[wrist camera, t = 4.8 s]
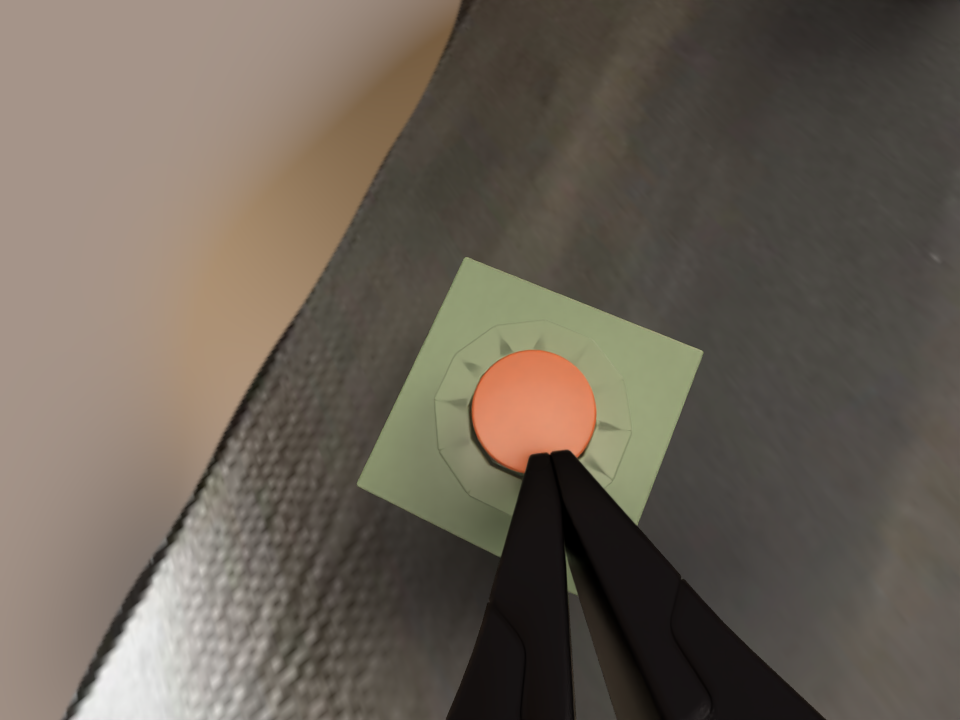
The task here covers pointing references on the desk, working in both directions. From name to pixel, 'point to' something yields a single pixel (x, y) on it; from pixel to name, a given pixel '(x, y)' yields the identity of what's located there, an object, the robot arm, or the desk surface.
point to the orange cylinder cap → (532, 408)
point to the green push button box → (463, 361)
